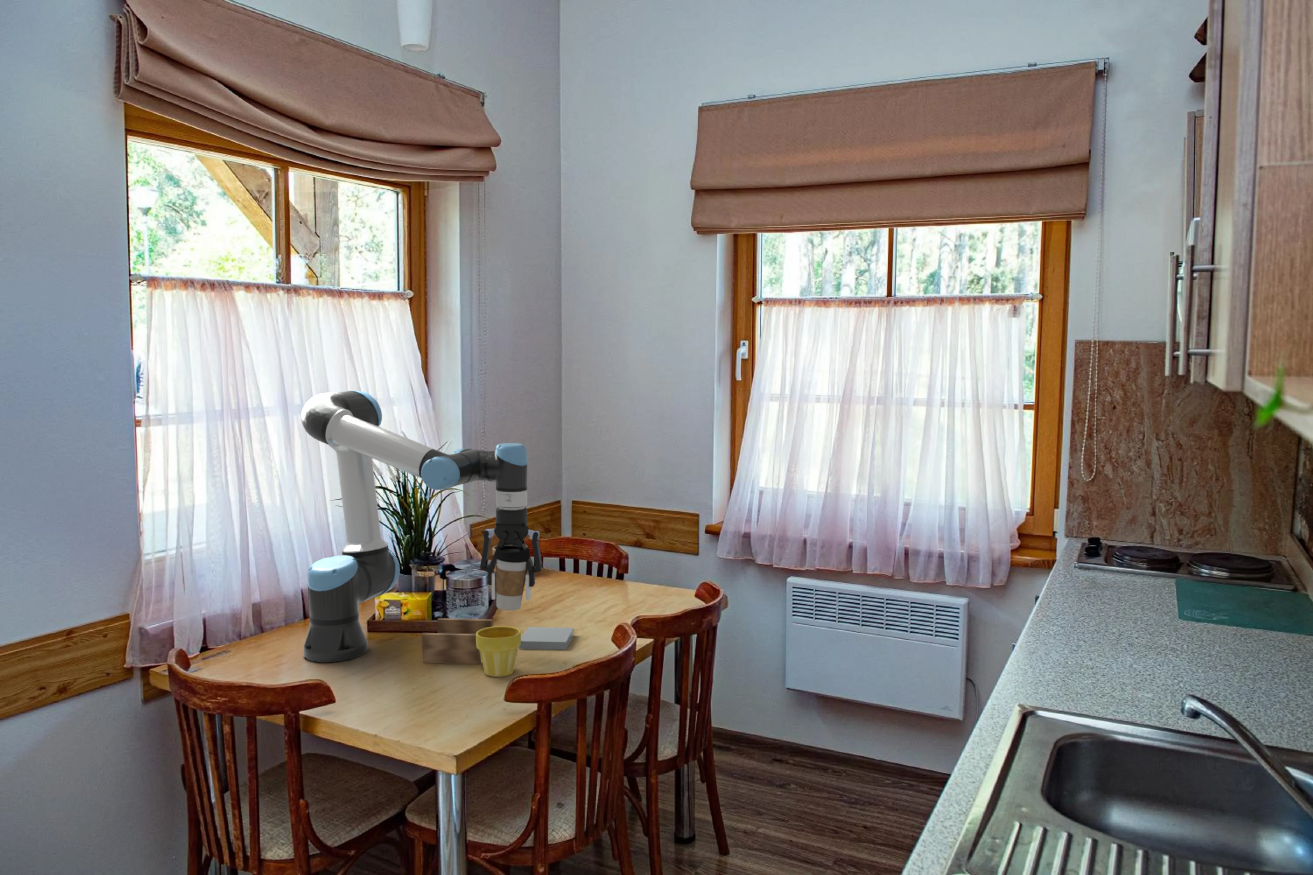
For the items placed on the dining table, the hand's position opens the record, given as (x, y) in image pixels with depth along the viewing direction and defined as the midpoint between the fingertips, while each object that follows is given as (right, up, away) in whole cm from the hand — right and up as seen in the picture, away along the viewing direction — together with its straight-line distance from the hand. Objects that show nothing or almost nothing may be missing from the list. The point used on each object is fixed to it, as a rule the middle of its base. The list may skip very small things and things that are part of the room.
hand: (511, 598), depth 235 cm
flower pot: (-12, -7, +80) cm, 81 cm away
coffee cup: (-1, -2, 0) cm, 2 cm away
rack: (-13, -14, +2) cm, 20 cm away
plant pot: (-1, -16, -11) cm, 19 cm away
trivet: (+7, -13, +12) cm, 19 cm away
